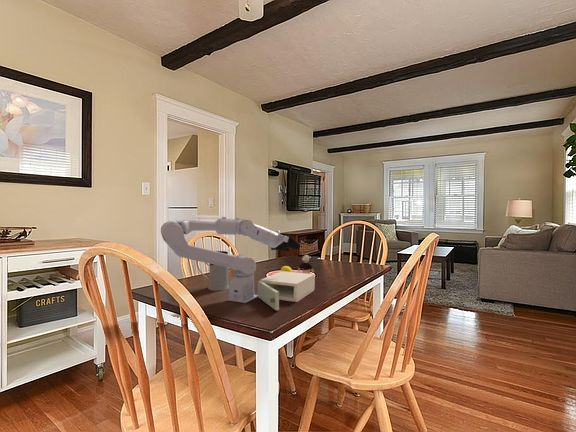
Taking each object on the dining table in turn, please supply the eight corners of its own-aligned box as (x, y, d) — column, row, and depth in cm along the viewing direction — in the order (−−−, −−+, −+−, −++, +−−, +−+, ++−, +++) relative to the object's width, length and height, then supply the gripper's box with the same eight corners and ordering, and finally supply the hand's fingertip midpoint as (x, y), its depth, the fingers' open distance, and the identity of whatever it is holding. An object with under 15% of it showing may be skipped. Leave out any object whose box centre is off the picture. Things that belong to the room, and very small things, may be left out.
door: (272, 310, 102) (272, 292, 102) (254, 297, 118) (254, 281, 118) (279, 309, 103) (278, 291, 103) (261, 296, 119) (260, 280, 119)
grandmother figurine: (315, 283, 142) (315, 254, 142) (313, 285, 138) (313, 255, 138) (298, 282, 144) (298, 254, 144) (296, 283, 140) (296, 255, 140)
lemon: (294, 277, 155) (295, 267, 154) (286, 279, 151) (287, 268, 150) (284, 273, 160) (285, 263, 159) (276, 275, 156) (277, 264, 155)
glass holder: (225, 290, 129) (225, 254, 129) (192, 289, 131) (191, 253, 131) (232, 285, 138) (232, 251, 137) (201, 284, 140) (201, 250, 139)
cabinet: (296, 301, 114) (296, 283, 113) (260, 296, 120) (260, 279, 120) (314, 290, 130) (314, 274, 130) (281, 286, 136) (281, 271, 136)
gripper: (276, 223, 117) (306, 236, 122) (259, 228, 129) (287, 240, 134) (271, 241, 114) (302, 254, 120) (254, 245, 126) (283, 256, 132)
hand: (294, 248), depth 127 cm, fingers open, 7 cm apart
